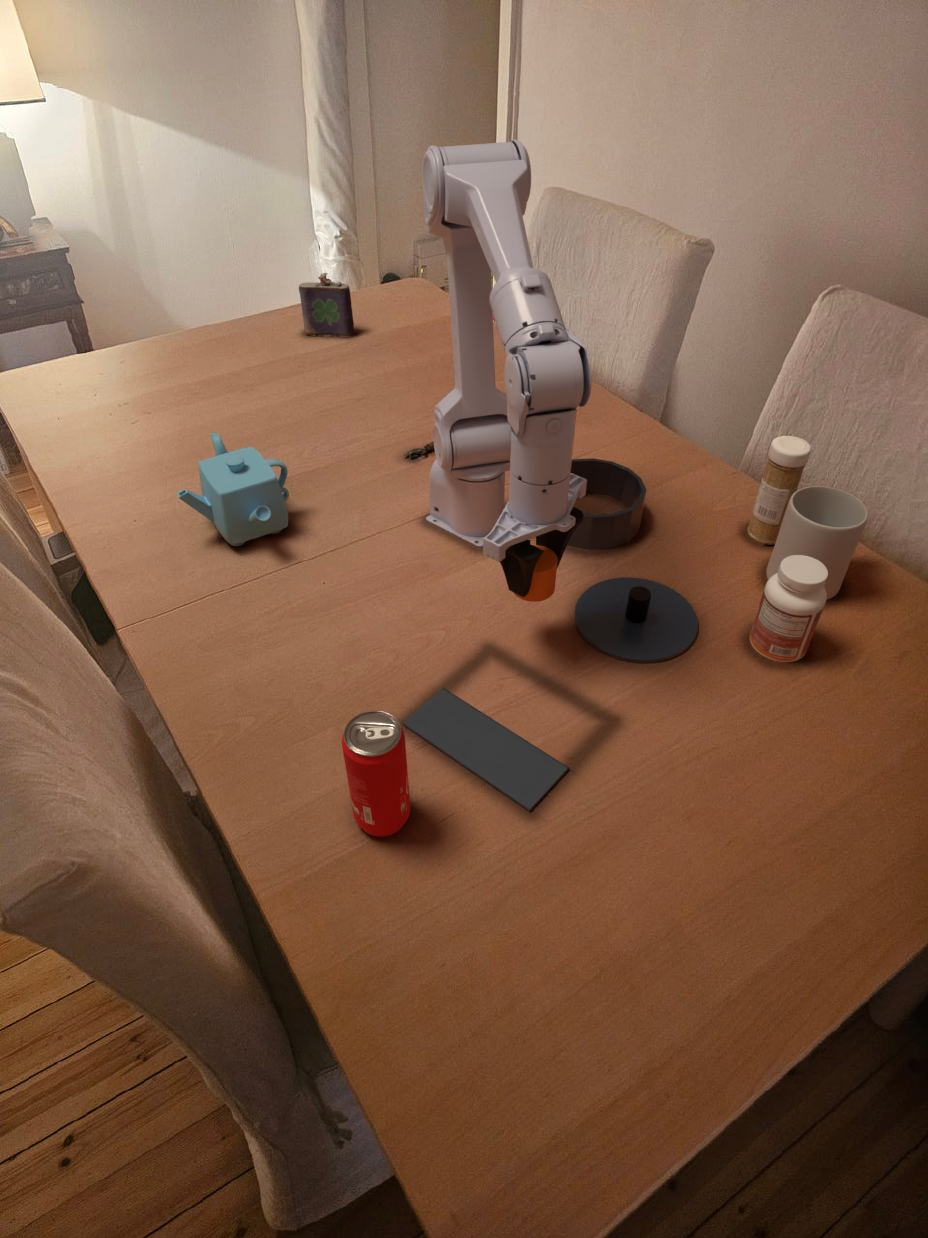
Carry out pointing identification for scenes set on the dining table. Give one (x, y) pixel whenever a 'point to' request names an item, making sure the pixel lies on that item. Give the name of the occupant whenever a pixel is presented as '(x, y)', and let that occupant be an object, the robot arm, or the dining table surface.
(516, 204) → the robot arm
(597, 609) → the pot lid
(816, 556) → the mug
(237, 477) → the teapot
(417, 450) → the can opener
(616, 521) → the pot
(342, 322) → the flask
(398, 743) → the beverage can
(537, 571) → the pumpkin
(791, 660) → the pill bottle
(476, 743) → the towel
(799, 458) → the sprinkles bottle
